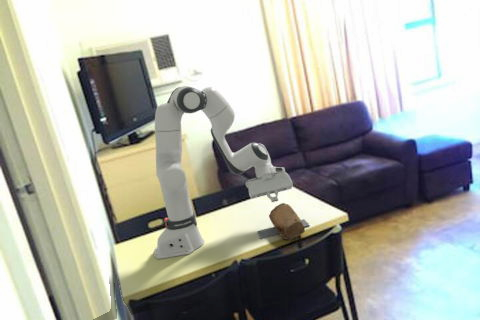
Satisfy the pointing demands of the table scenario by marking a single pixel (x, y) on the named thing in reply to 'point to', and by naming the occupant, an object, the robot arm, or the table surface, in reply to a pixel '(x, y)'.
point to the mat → (275, 231)
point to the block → (286, 221)
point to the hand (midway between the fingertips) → (275, 201)
